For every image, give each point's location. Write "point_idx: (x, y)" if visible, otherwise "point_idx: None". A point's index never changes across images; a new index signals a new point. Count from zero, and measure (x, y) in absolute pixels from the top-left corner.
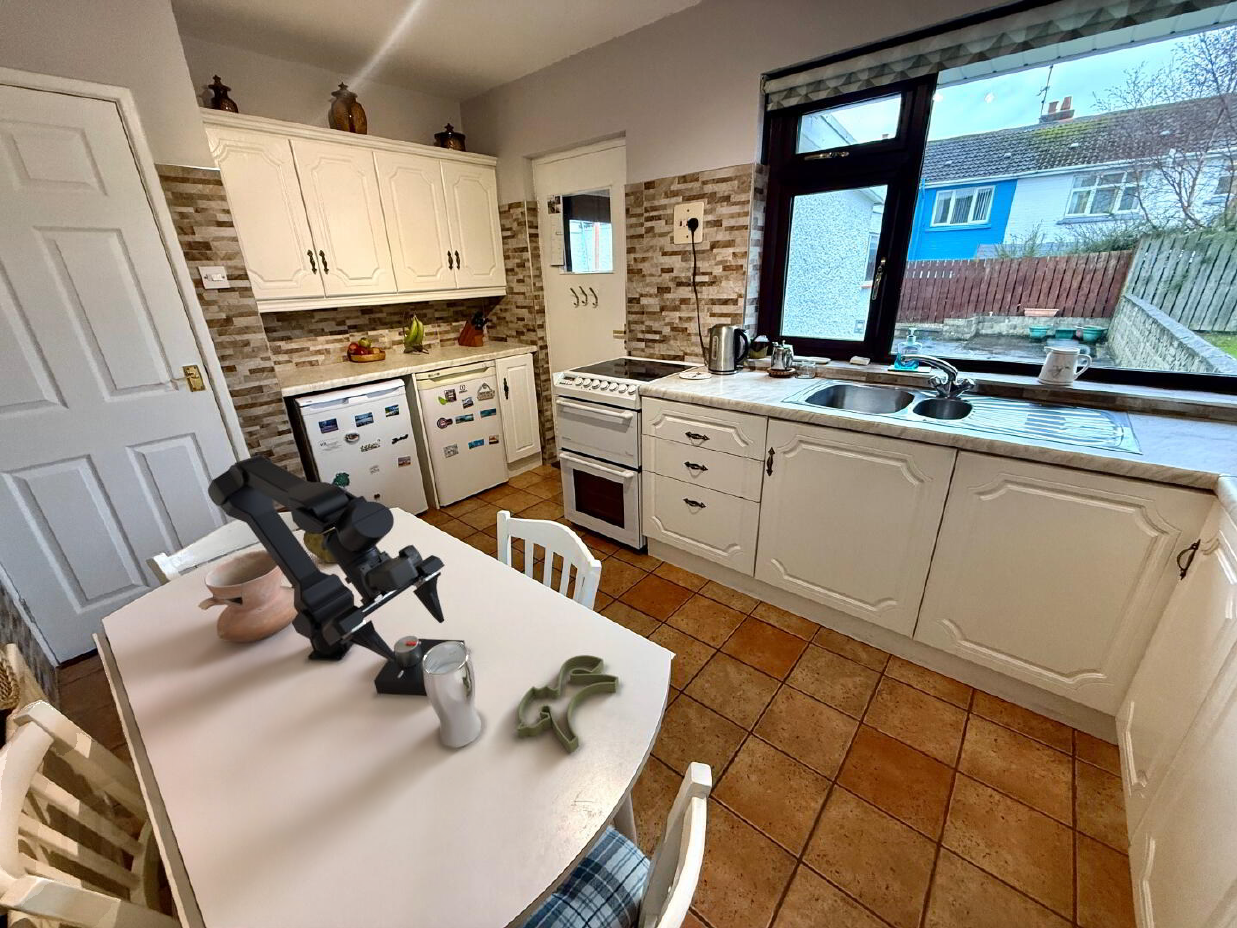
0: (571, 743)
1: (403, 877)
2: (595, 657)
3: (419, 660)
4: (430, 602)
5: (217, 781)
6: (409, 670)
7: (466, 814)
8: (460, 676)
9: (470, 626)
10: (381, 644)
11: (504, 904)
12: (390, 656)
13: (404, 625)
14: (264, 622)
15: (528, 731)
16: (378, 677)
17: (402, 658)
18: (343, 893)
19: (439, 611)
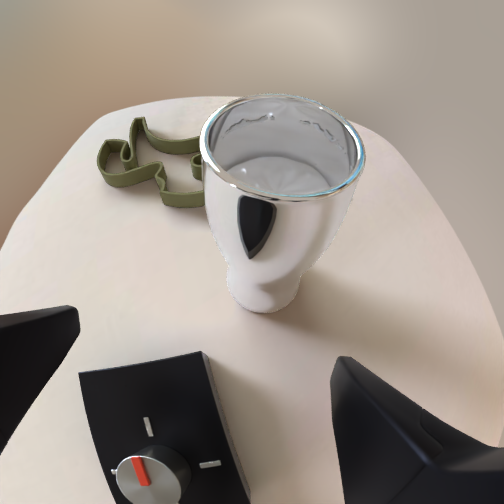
0: None
1: (428, 227)
2: (102, 147)
3: (159, 445)
4: (2, 358)
5: None
6: (192, 452)
7: (358, 201)
8: (296, 120)
9: (43, 398)
10: (405, 405)
11: (385, 145)
12: (365, 367)
13: None
14: None
15: None
16: (237, 502)
17: (183, 475)
18: (463, 272)
19: (39, 314)
